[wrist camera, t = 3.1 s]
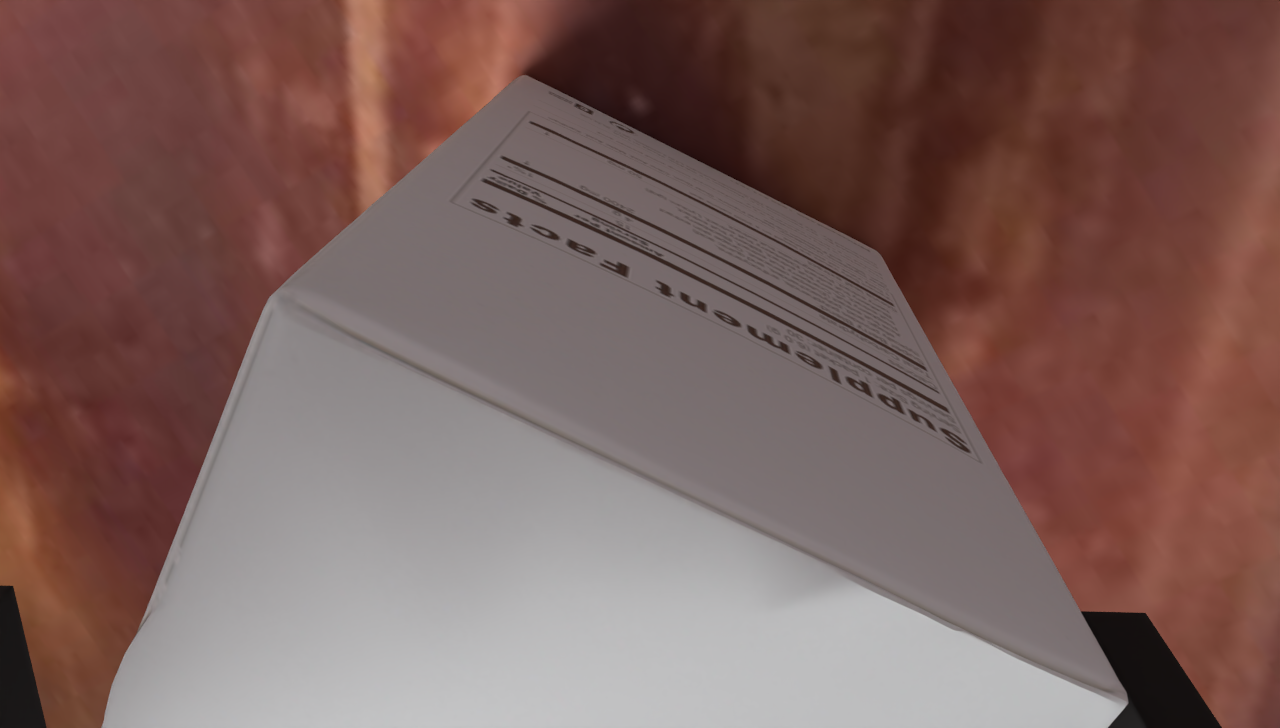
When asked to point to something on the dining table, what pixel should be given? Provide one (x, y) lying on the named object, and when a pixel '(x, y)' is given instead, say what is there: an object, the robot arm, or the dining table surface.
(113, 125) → the dining table surface
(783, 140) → the dining table surface
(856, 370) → the rectangular carton
